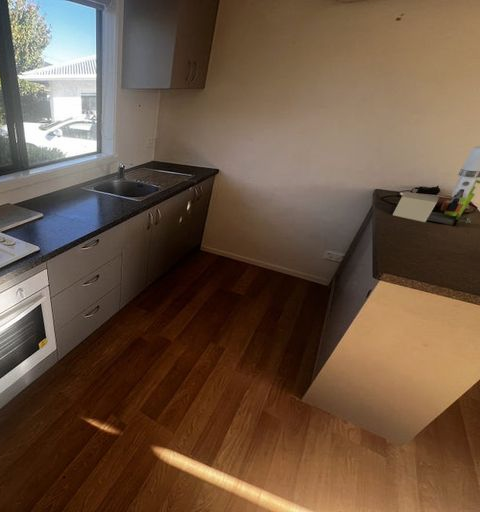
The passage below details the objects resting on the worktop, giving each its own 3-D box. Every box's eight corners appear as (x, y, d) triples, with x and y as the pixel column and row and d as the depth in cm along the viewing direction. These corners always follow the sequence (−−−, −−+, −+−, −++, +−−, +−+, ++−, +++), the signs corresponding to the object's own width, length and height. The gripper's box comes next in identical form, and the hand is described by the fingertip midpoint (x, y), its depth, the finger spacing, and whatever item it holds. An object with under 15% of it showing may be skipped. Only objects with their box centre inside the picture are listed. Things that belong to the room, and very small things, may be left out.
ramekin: (448, 208, 151) (453, 200, 149) (462, 212, 145) (468, 203, 143) (436, 209, 151) (441, 200, 149) (450, 213, 145) (455, 204, 143)
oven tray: (468, 221, 149) (471, 215, 147) (467, 228, 141) (471, 222, 139) (423, 213, 160) (426, 207, 158) (420, 219, 152) (423, 213, 150)
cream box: (427, 216, 159) (439, 196, 153) (425, 222, 151) (436, 202, 145) (396, 210, 167) (405, 191, 162) (391, 216, 159) (401, 196, 154)
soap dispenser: (450, 218, 156) (475, 181, 146) (440, 213, 161) (463, 178, 152) (463, 219, 154) (489, 182, 145) (453, 215, 160) (477, 179, 150)
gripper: (482, 178, 132) (460, 215, 140) (482, 172, 141) (461, 207, 150) (458, 175, 137) (438, 211, 145) (459, 169, 147) (440, 203, 155)
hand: (450, 209), depth 148 cm, fingers closed on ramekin, 6 cm apart
